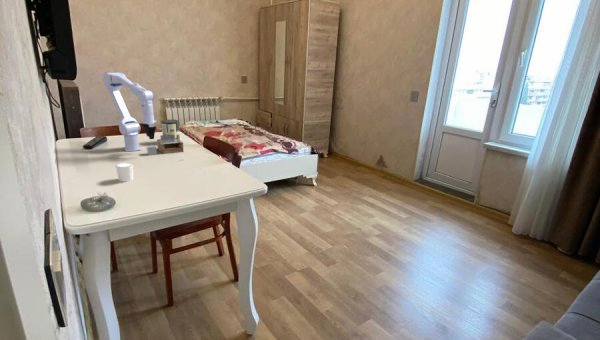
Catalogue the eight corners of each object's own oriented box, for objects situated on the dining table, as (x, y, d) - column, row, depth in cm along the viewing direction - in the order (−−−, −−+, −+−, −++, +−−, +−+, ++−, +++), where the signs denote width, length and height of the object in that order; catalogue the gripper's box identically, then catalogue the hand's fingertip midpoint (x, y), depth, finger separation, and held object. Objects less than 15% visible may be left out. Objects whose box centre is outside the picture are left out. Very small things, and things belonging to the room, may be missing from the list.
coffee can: (173, 139, 216) (171, 118, 212) (183, 142, 211) (182, 121, 207) (159, 142, 208) (157, 120, 204) (169, 145, 203) (168, 123, 198)
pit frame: (157, 148, 195) (156, 138, 193) (177, 146, 201) (177, 137, 199) (162, 153, 185) (161, 143, 183) (183, 151, 191) (182, 141, 189)
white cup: (123, 183, 141) (121, 168, 139) (114, 179, 144) (112, 165, 142) (138, 179, 147) (136, 164, 144) (129, 175, 150) (127, 161, 148)
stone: (147, 153, 184) (146, 146, 183) (155, 152, 187) (154, 145, 185) (148, 155, 181) (148, 147, 180) (156, 154, 183) (156, 147, 182)
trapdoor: (159, 140, 194) (159, 135, 193) (174, 139, 199) (174, 134, 198) (163, 144, 187) (163, 139, 186) (178, 142, 191) (178, 137, 190)
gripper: (158, 114, 173) (160, 139, 177) (153, 111, 184) (155, 134, 189) (143, 115, 169) (146, 140, 173) (139, 111, 181) (142, 135, 185)
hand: (150, 137), depth 181 cm, fingers open, 7 cm apart
